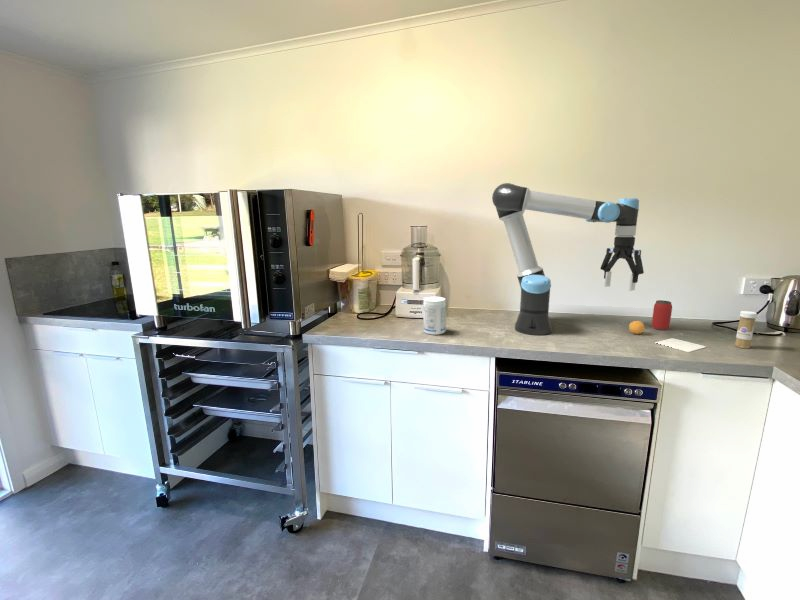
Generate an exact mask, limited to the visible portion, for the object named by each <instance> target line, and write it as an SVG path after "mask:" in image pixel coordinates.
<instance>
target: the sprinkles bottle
mask: <svg viewBox="0 0 800 600" xmlns="http://www.w3.org/2000/svg"><path fill="white" fill-rule="evenodd" d="M739 313H740V314H739V322H738V325H737V326H738V327H737V331H736V337H735V343H734V346H735V347H736V348H740V349H750V348H751V344H752V340H753V334H754V329H755V324H756V319H757V316H758V313H757V312H755V311H751V310H740V312H739Z"/></svg>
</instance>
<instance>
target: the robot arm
mask: <svg viewBox="0 0 800 600" xmlns="http://www.w3.org/2000/svg"><path fill="white" fill-rule="evenodd" d="M491 200H492V203H493V206H494V208H495V209H496V213H497V216H498V219H499V220H500V221H502V222H503V223H504V227H505V230H506V233H507V237H508V240H509V243H510V246H511V249H512V252H513V257H514V258H515V262H516V266H517V268H518V273H517V274H516V278H517V280H518V283H519V286H520V301H519V302H520V303H519V304H520V306H519V313H518V315H517V319H516V321H515V323H514V330H515V331H516V332H518V333H521V334H525V335H530V336H531V335H533V336H541V335H543V336H544V335H550V334H551V333H552V330H553V329H552V328H553V327H552V324H551V320H550V314H549V310H550V296H551V287H552V282H551V279H550V277H548V276H546V275H545V271H544V268H543V267H542V266H539V265H538V261H537V257H536V254H535V251H534V248H533V244H532V241H531V238H530V234H529V231H528V228H527V225H526V221H525V218H524V213H525V211H533V212H537V213H538V212H540V213H544V214H545V213H546V214H551V215H556V216H557V215H558V216H565V217H571V218H577V219H584V220H585V222H587V223H606V224H610V223H615V231H614V236H615V237H614V239H613V241H614V242H613V245H614V247H607V248H606V251H605V253H606V254H605V256H604V257H603V260H602V263H601V266H600V270H601V271H603V272H604V274H603V279H604V287H610V286H611V281H612V270H611V269H612V268H613V267H614V266H615V264H616V263H617V261H618V260H619V259H623V260H625V261H626V263H627V265H628V268H629V269H630V271H631V274H630V277H629V286H628V291H630V292H631V291H635V289H636V283H638V282H639V281H638V280H639V276H640V275H643V274H644V272H645V270H644V266H643V262H642V256H641V255H642V250H641V249H634V246H635V242H636V237H635V236H636V233H637V223H638V216H639V211H640V200H639V199H638V198H637V197H636V198H635V197H628V198H627V197H626V198H619V199H618V202H617V203H615V202H612V201H600V200H599V201H598V200H595V199H587V198H580V197H574V196H566V195H561V194H554V193H549V192H548V193H547V192H541V191H535V190H531V189H530V188H529V187H525V186H521V185H516V184H514V183H510V182H503V183H501V184H500V185H498V186H497V187H496V188H495V189H494V191H493V192H492V197H491ZM633 255H634V256H633Z"/></svg>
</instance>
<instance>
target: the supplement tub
mask: <svg viewBox="0 0 800 600" xmlns="http://www.w3.org/2000/svg"><path fill="white" fill-rule="evenodd" d="M422 306H423V307H422V308H423V310H422V315H423V319H422V320H423V332H424V333H425V334H426V335H433V336H434V335H436V336H437V335H442V334H445V332H446V329H447V327H446V324H447V321H446V320H447V314H446V313H447V301H446V298H445V297H442V296H427V297H423V305H422Z"/></svg>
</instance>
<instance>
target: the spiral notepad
mask: <svg viewBox="0 0 800 600" xmlns="http://www.w3.org/2000/svg"><path fill="white" fill-rule="evenodd" d="M656 343H658V344H657V345H660V344H661V345H660V346H664V345H665V347H667V346H669V347H668V348H671V347H672V348H671V349H675V350H678V349H679V351H683V352H686V353H691V352H694V351H697V350H698V351H699V350H701V349H704V348H707V346H706V345H702V344H698V343H697V344H696V343H693V342H690V341H686V340H681V339H677V338H674V337H673V338H672V337H671V338H668V339H667V338H666V339H663V340H659V341H655V342H654V344H656Z"/></svg>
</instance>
